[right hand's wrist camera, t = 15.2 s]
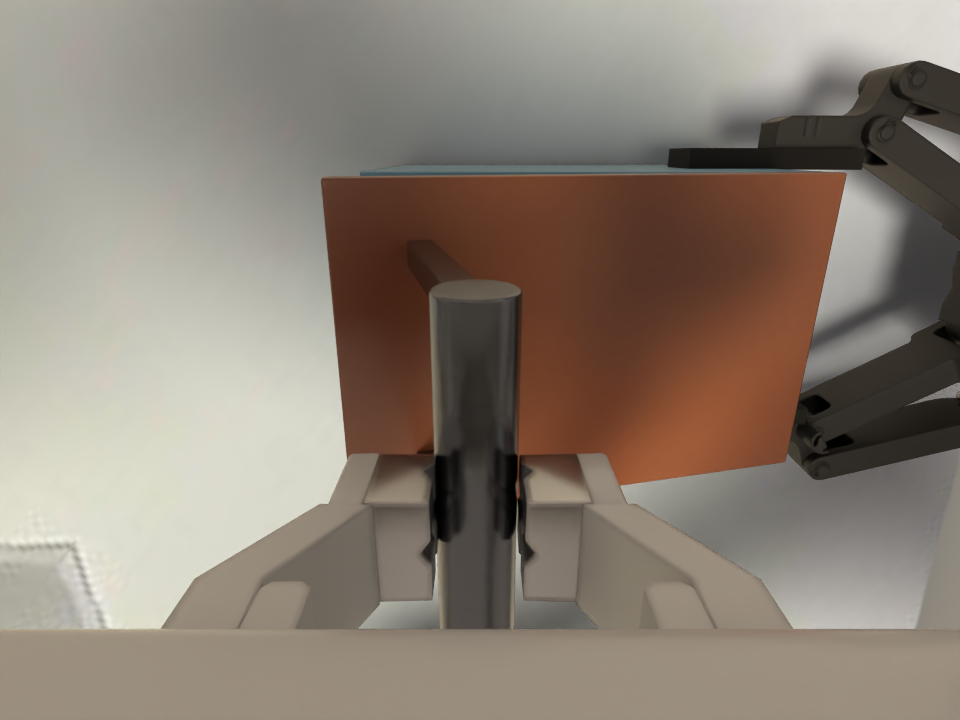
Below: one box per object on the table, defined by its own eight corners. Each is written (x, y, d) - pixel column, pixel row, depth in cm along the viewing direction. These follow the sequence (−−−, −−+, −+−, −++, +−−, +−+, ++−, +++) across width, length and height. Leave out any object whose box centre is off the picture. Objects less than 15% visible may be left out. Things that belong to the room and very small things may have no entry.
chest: (413, 352, 32) (378, 446, 22) (404, 164, 28) (358, 171, 18) (677, 352, 32) (768, 448, 21) (701, 164, 28) (824, 171, 18)
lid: (352, 504, 18) (363, 754, 11) (321, 176, 15) (306, 200, 7) (765, 449, 21) (997, 608, 14) (820, 171, 18) (1168, 184, 10)
